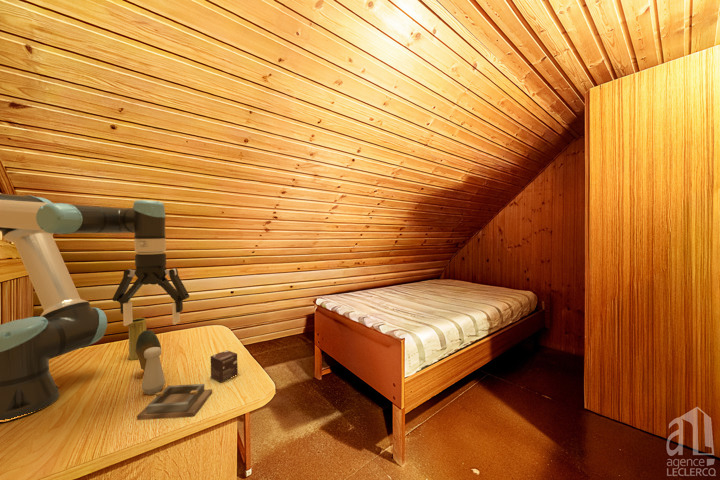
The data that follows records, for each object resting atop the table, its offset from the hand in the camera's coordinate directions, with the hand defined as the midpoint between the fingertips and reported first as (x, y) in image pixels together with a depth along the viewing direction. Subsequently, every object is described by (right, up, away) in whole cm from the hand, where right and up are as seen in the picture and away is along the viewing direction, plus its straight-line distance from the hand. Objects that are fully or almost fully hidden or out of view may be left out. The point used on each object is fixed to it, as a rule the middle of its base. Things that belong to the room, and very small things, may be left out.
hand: (152, 323), depth 87 cm
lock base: (+12, -21, -7) cm, 25 cm away
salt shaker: (0, -21, 0) cm, 21 cm away
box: (+17, -20, +9) cm, 28 cm away
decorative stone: (-9, -20, +11) cm, 25 cm away
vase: (-23, -20, +25) cm, 39 cm away
